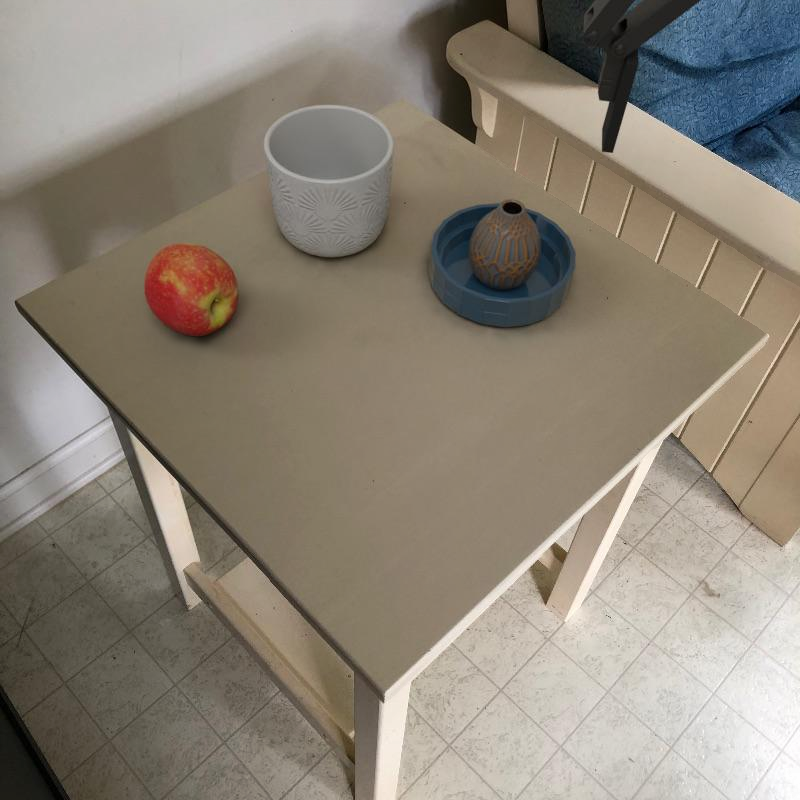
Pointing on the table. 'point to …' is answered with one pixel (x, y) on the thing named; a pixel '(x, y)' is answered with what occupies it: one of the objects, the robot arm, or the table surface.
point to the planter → (329, 178)
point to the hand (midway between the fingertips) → (706, 154)
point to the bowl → (493, 305)
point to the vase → (505, 246)
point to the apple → (191, 289)
